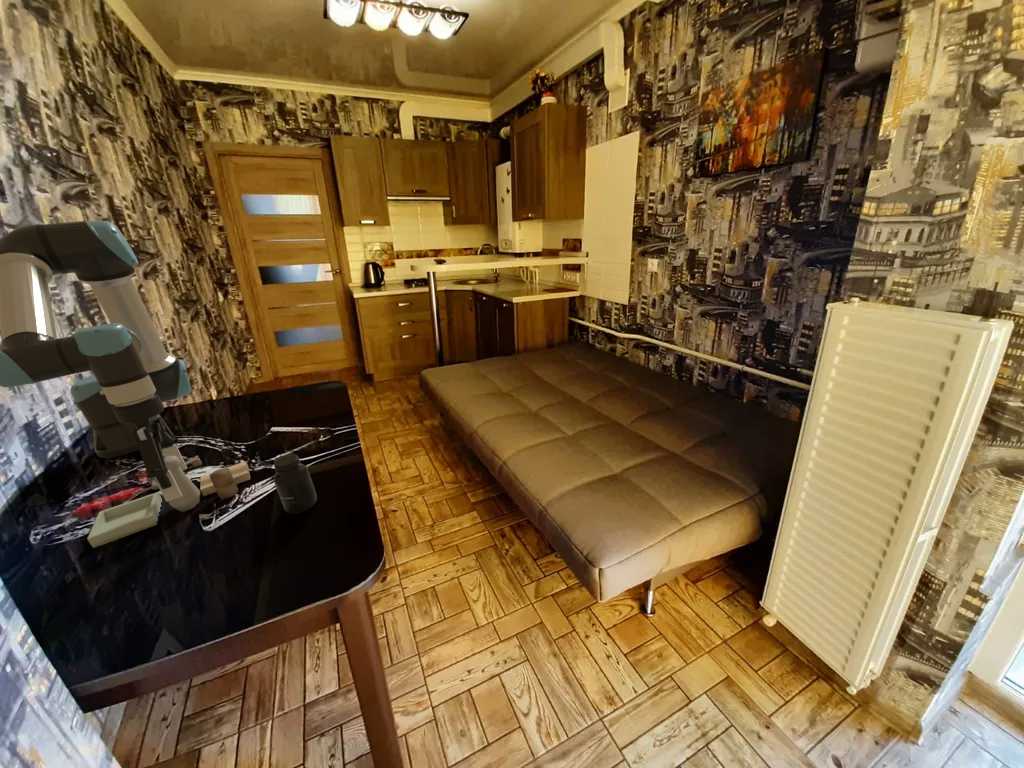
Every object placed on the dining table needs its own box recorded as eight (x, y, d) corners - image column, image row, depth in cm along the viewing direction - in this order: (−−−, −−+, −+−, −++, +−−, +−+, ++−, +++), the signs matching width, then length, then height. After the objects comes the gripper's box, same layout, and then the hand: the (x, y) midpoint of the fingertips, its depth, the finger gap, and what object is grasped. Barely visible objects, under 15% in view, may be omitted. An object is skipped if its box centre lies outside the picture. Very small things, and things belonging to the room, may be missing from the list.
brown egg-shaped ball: (219, 492, 98) (209, 472, 96) (238, 486, 100) (229, 465, 98) (219, 501, 95) (209, 480, 93) (238, 493, 97) (229, 473, 95)
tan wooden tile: (204, 484, 103) (200, 476, 102) (248, 468, 108) (245, 461, 107) (204, 497, 98) (200, 489, 97) (251, 480, 103) (247, 472, 102)
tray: (104, 520, 92) (99, 511, 91) (162, 500, 98) (158, 492, 97) (93, 548, 84) (87, 539, 83) (156, 524, 89) (151, 515, 88)
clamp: (194, 451, 115) (203, 463, 108) (198, 458, 116) (206, 470, 109) (126, 478, 105) (131, 493, 99) (130, 485, 106) (135, 500, 100)
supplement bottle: (285, 519, 87) (266, 473, 82) (285, 501, 93) (267, 457, 88) (319, 507, 90) (303, 462, 85) (317, 490, 95) (302, 447, 91)
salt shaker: (184, 499, 97) (161, 453, 92) (209, 496, 97) (187, 450, 92) (167, 515, 92) (142, 468, 87) (193, 512, 92) (169, 465, 87)
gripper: (123, 387, 92) (163, 466, 100) (95, 426, 72) (148, 520, 80) (164, 378, 95) (200, 454, 103) (148, 412, 76) (193, 503, 84)
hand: (177, 483), depth 92 cm, fingers open, 13 cm apart
